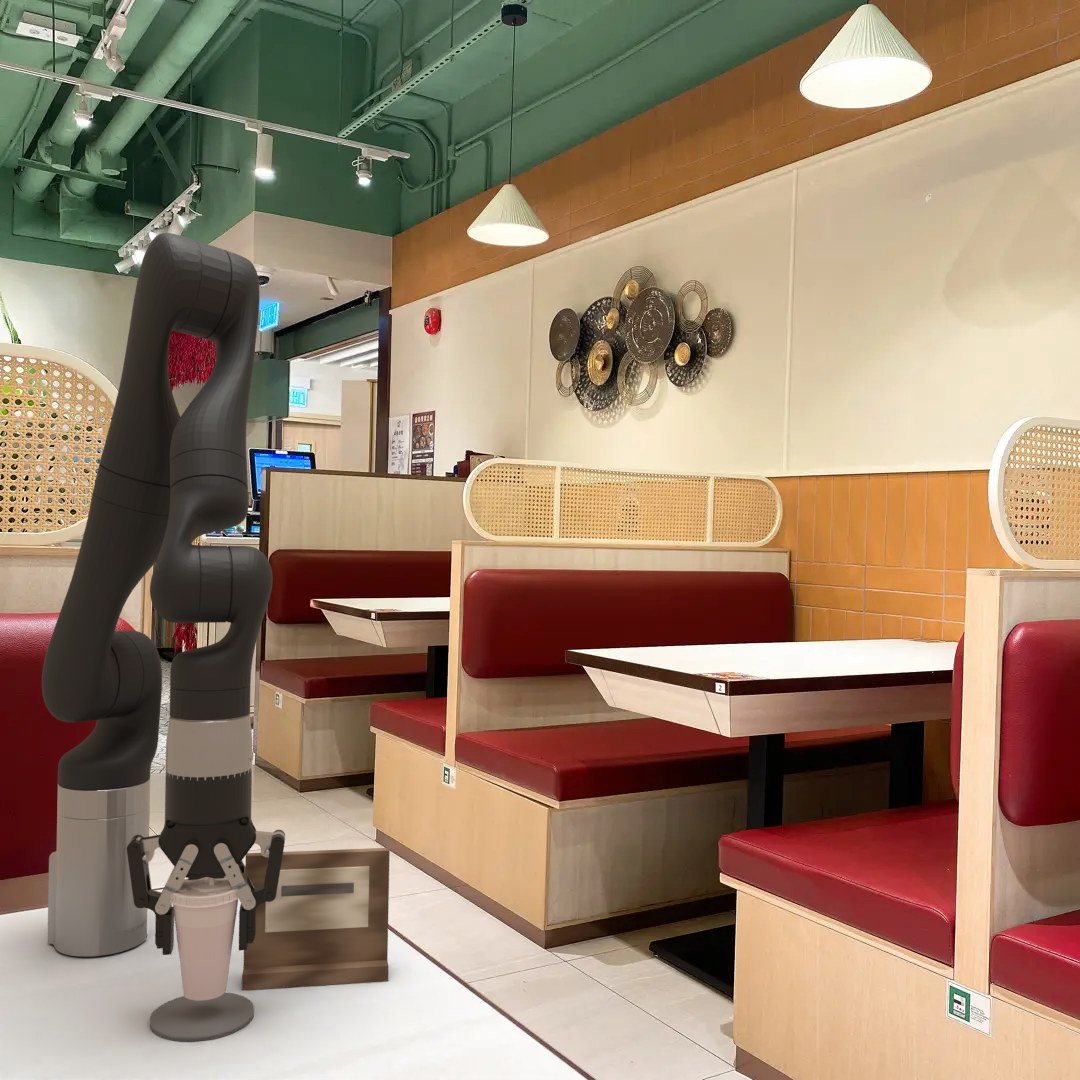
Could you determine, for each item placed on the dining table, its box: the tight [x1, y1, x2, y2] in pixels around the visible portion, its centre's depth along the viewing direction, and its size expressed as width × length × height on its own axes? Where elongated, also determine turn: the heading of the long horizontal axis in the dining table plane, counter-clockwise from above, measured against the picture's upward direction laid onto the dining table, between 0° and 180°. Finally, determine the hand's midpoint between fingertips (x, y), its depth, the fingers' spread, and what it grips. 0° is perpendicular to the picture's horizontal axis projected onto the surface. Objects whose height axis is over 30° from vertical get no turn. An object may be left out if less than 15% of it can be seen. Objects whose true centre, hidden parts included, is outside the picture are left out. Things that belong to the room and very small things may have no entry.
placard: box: [241, 847, 391, 991], centre depth 107 cm, size 14×4×12 cm, turn 102°
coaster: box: [149, 991, 255, 1042], centre depth 97 cm, size 9×9×1 cm
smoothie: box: [170, 876, 239, 1001], centre depth 97 cm, size 6×6×14 cm
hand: (206, 948), depth 97 cm, fingers closed on smoothie, 6 cm apart
